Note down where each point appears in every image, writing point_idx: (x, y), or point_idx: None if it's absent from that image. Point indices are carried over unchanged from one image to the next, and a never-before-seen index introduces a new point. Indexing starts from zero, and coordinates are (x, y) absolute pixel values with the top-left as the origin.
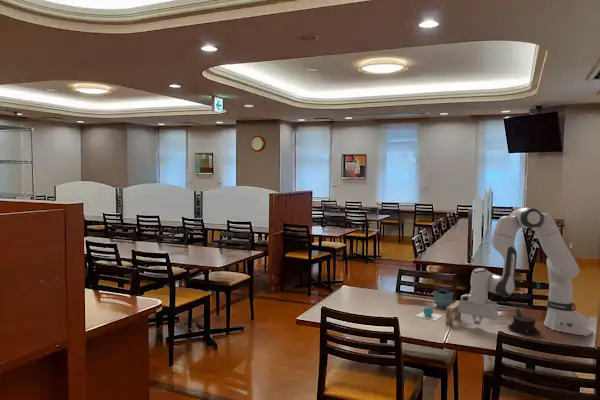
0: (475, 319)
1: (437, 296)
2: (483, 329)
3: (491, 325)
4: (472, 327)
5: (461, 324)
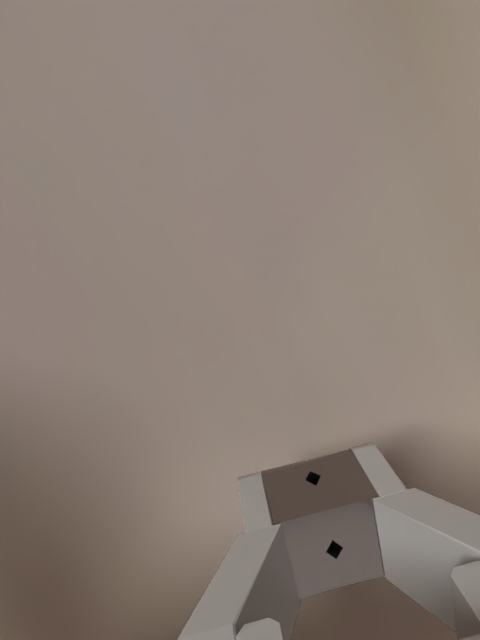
0: (281, 584)
1: None
2: (443, 452)
3: (458, 28)
4: None
5: (10, 572)
